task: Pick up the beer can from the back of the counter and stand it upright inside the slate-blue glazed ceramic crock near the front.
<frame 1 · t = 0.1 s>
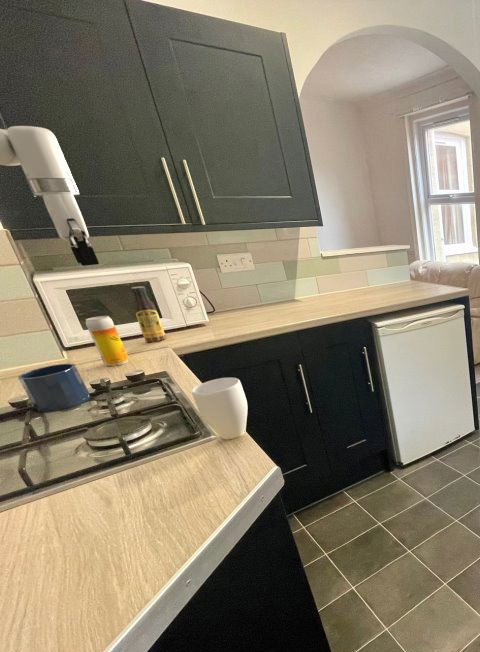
hand: (88, 263, 105), 33 cm above the worktop, tool pointing down, fingers open, 9 cm apart
beer can: (118, 363, 135), on the worktop
mug: (231, 432, 90), on the worktop
sauce bottle: (157, 340, 158), on the worktop
crock: (64, 403, 107), on the worktop
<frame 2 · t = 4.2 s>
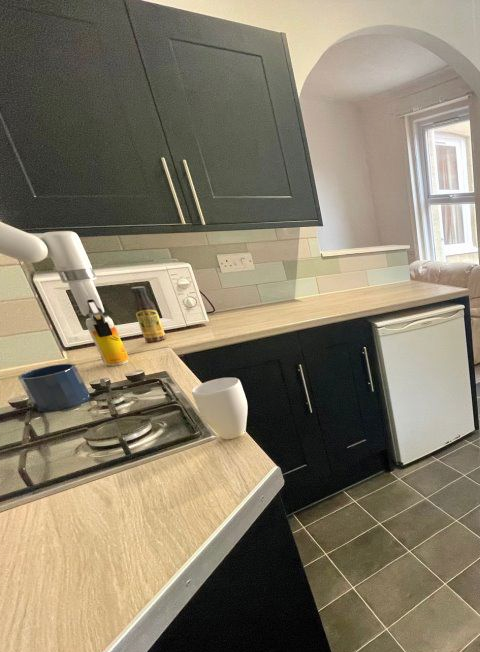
hand: (104, 333, 131), 10 cm above the worktop, tool pointing down, fingers closed on beer can, 6 cm apart
beer can: (118, 363, 135), on the worktop, touching gripper
everything else where it was.
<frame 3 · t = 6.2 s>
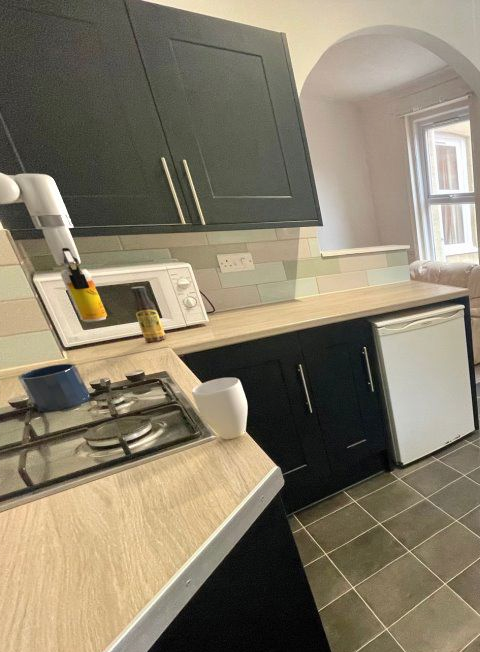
hand: (80, 286, 124), 25 cm above the worktop, tool pointing down, fingers closed on beer can, 6 cm apart
beer can: (95, 320, 128), point 14 cm above the worktop, touching gripper
everything else where it was.
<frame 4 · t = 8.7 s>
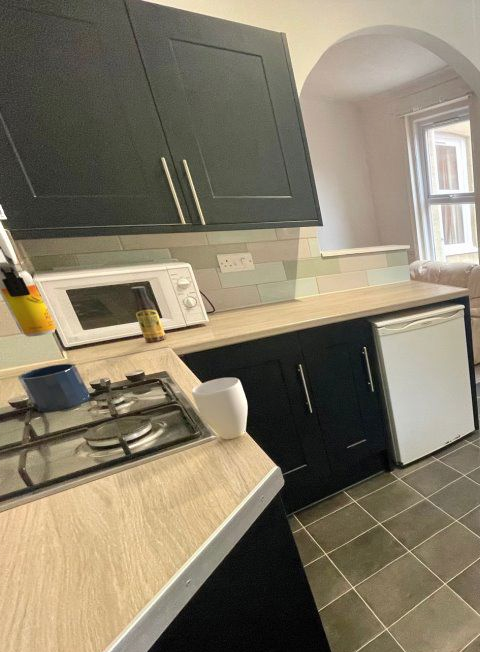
hand: (20, 293, 100), 27 cm above the worktop, tool pointing down, fingers closed on beer can, 6 cm apart
beer can: (41, 334, 104), point 17 cm above the worktop, touching gripper
everything else where it was.
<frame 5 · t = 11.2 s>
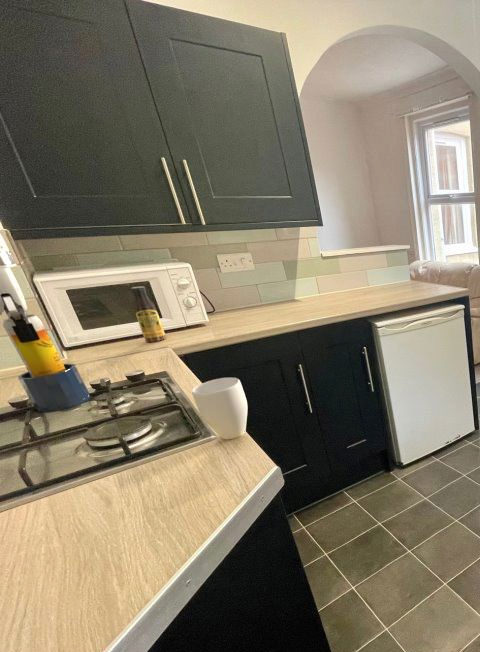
hand: (30, 338, 100), 18 cm above the worktop, tool pointing down, fingers closed on beer can, 6 cm apart
beer can: (51, 377, 104), point 7 cm above the worktop, touching gripper
everything else where it was.
when the fingers open (11 cm above the worktop, at t = 13.3 s): beer can stays where it is, resting on crock.
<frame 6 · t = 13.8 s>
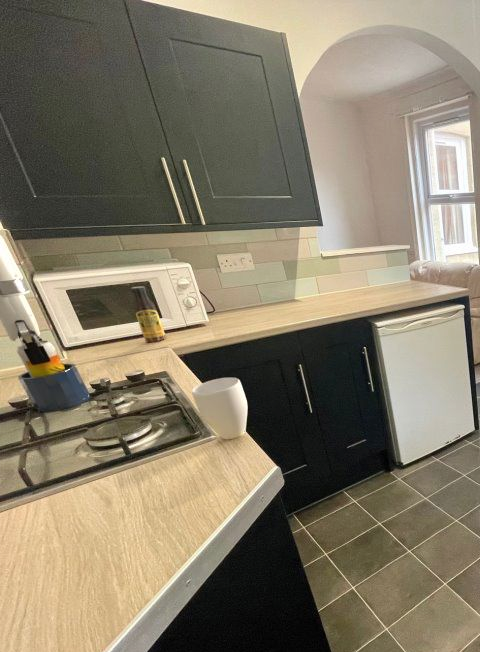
hand: (40, 359, 102), 12 cm above the worktop, tool pointing down, fingers open, 9 cm apart
beer can: (63, 400, 107), point 1 cm above the worktop, touching crock
everything else where it was.
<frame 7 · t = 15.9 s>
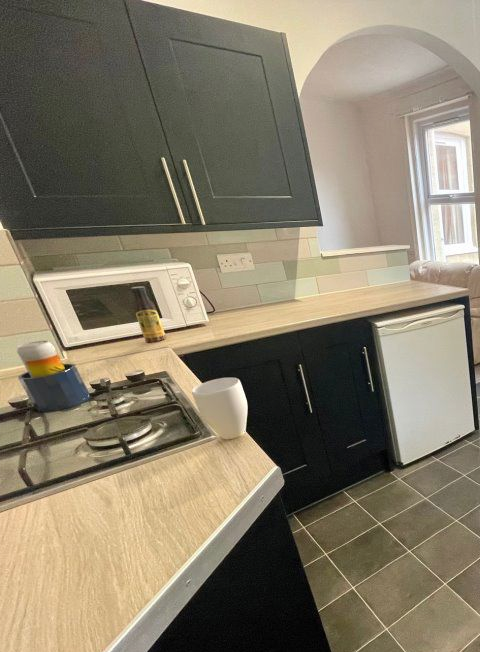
nothing on the worktop moved.
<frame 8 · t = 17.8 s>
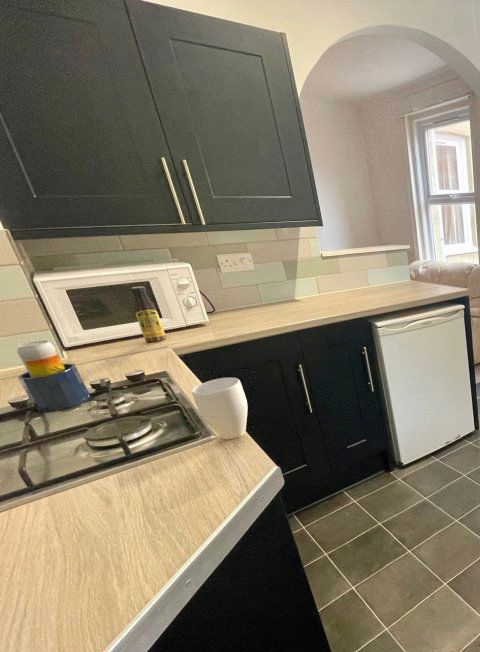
nothing on the worktop moved.
at the end: beer can 0.1 cm off-centre in the crock, point 0.8 cm above the crock's base; beer can tilted 0°; the gripper is holding nothing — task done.
